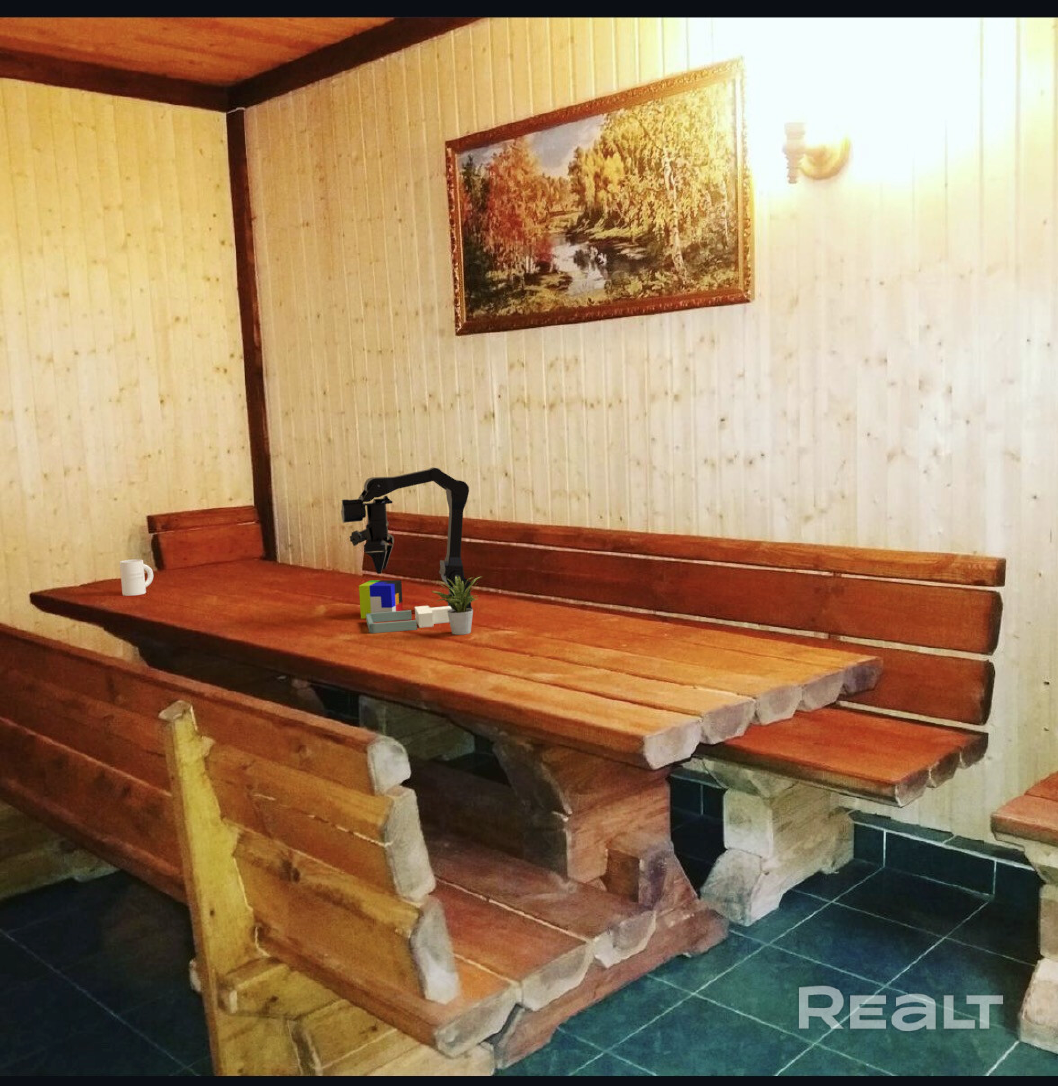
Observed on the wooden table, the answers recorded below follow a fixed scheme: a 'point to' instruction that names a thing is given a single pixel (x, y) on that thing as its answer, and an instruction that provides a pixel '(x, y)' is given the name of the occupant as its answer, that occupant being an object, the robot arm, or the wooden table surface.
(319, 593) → the wooden table surface
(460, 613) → the house plant
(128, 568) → the mug
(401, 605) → the puzzle toy
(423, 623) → the t block
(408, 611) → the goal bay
